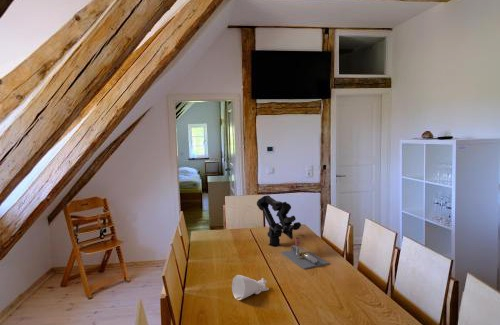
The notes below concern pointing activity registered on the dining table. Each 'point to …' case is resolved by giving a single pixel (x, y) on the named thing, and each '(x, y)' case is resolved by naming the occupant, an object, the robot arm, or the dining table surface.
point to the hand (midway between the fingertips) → (291, 238)
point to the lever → (297, 247)
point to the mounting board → (304, 260)
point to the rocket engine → (247, 286)
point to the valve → (305, 255)
